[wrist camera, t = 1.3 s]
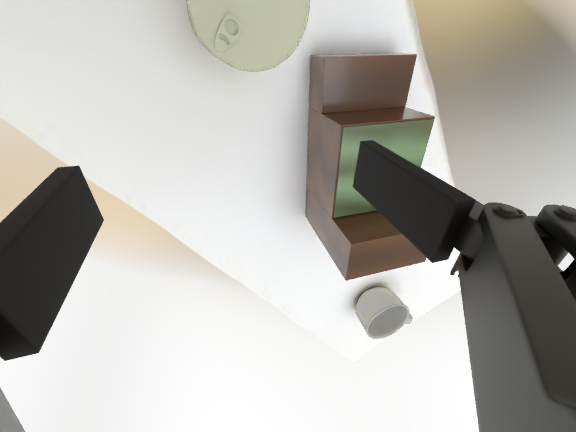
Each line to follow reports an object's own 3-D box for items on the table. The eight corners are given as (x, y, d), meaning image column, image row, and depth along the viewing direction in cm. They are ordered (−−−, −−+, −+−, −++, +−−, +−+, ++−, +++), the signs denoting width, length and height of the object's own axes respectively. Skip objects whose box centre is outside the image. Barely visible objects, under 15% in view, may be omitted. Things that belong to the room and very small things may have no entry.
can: (169, 14, 27) (155, 0, 17) (223, -74, 25) (241, -146, 15) (241, 81, 32) (260, 98, 22) (291, 13, 30) (336, -1, 20)
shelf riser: (310, 55, 33) (380, 63, 20) (394, 52, 35) (501, 59, 23) (305, 216, 46) (345, 280, 34) (366, 205, 49) (425, 261, 36)
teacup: (341, 307, 64) (358, 336, 58) (370, 275, 61) (390, 303, 54) (377, 315, 71) (395, 342, 65) (405, 287, 68) (427, 313, 61)
